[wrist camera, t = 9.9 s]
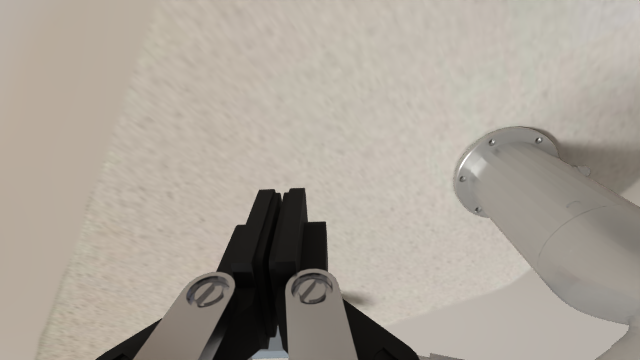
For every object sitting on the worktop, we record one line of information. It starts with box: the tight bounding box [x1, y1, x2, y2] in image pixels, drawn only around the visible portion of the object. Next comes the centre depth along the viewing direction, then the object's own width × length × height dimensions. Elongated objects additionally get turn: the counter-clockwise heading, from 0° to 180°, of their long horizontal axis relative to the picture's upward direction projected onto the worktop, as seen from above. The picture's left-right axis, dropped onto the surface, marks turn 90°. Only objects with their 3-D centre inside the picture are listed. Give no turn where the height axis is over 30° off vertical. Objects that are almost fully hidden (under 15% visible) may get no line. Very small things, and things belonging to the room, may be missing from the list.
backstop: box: [252, 327, 289, 359], centre depth 53 cm, size 16×2×4 cm, turn 93°
